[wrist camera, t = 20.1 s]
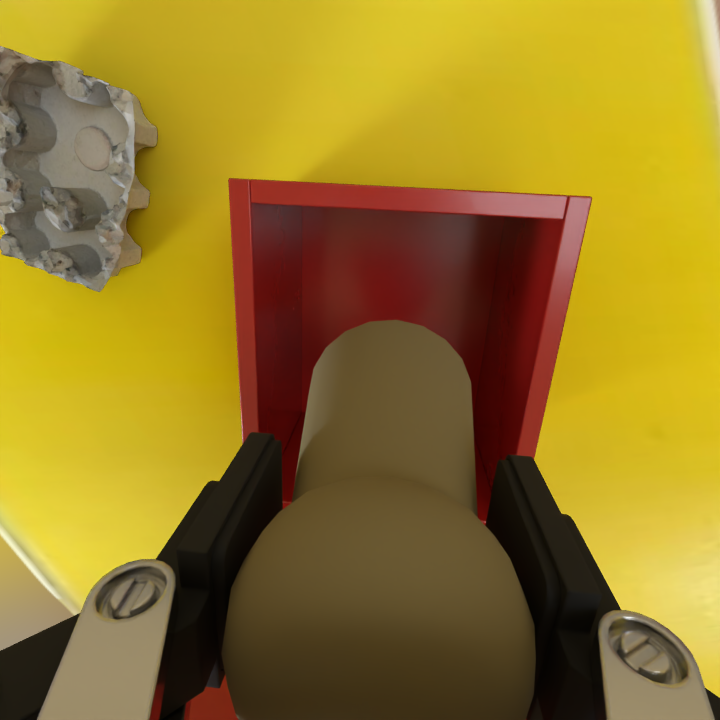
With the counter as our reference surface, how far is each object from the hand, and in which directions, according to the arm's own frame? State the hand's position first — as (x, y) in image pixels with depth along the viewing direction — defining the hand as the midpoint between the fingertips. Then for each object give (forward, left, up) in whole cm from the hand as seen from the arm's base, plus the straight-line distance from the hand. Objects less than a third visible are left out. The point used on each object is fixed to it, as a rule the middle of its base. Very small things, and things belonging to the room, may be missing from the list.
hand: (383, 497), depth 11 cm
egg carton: (-7, -18, -17) cm, 26 cm away
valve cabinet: (0, 0, -17) cm, 17 cm away
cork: (0, 0, -6) cm, 6 cm away
